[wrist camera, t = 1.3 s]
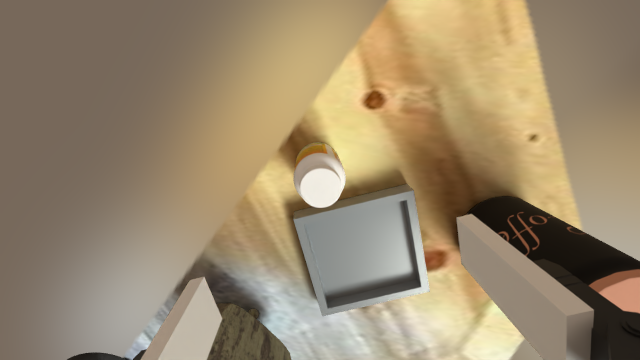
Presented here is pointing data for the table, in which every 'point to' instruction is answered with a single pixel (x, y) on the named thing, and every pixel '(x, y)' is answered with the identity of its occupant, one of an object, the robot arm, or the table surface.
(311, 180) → the supplement bottle
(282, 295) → the table surface
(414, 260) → the tray
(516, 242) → the coffee jar
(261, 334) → the tabletop clock
